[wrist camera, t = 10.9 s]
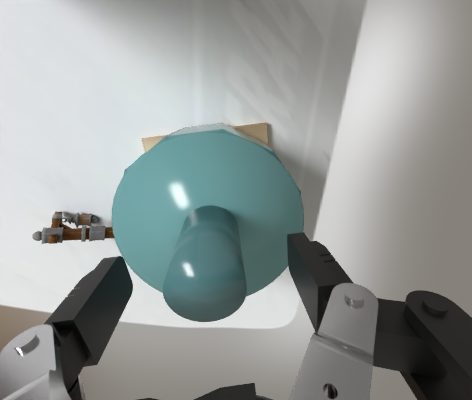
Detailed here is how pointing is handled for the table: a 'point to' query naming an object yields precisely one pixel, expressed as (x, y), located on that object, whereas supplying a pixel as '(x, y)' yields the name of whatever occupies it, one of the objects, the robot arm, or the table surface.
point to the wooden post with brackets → (73, 230)
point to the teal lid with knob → (206, 219)
